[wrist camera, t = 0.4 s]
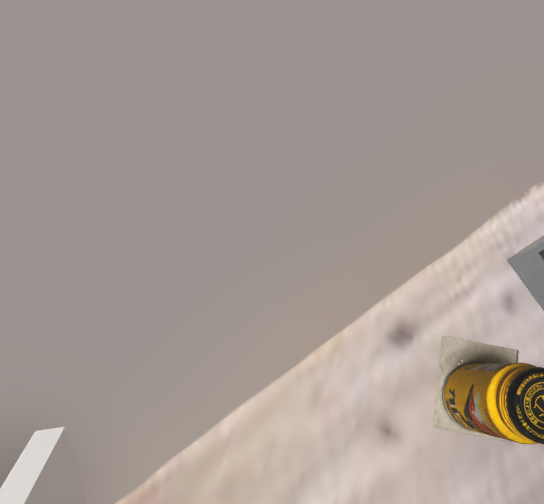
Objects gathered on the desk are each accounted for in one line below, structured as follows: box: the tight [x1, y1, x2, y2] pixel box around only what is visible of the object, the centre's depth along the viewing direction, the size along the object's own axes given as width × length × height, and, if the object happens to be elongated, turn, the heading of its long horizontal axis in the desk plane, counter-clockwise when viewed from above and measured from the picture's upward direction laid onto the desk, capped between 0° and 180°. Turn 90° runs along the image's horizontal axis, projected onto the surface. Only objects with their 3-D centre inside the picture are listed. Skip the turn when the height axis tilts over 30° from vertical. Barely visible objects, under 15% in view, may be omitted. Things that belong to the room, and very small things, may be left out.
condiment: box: [433, 336, 544, 444], centre depth 41 cm, size 7×8×12 cm
